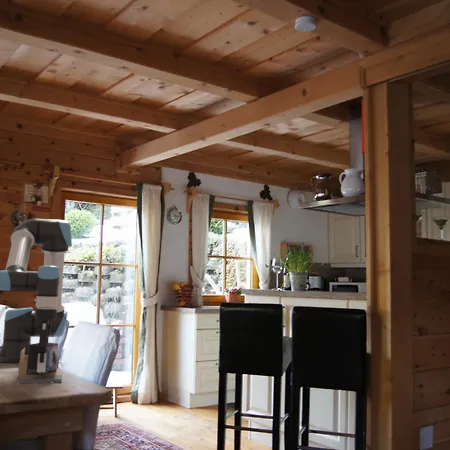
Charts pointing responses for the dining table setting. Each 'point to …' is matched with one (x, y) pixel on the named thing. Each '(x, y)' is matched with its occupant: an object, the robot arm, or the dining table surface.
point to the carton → (23, 365)
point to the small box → (50, 359)
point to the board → (40, 378)
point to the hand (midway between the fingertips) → (42, 369)
